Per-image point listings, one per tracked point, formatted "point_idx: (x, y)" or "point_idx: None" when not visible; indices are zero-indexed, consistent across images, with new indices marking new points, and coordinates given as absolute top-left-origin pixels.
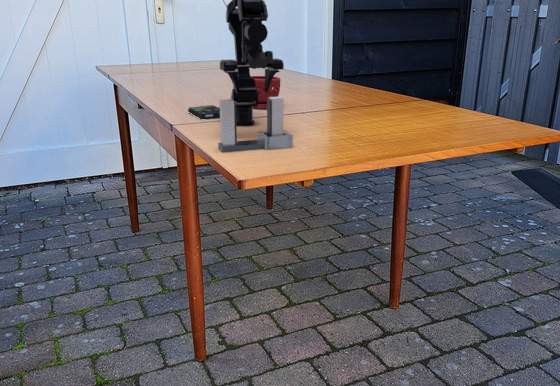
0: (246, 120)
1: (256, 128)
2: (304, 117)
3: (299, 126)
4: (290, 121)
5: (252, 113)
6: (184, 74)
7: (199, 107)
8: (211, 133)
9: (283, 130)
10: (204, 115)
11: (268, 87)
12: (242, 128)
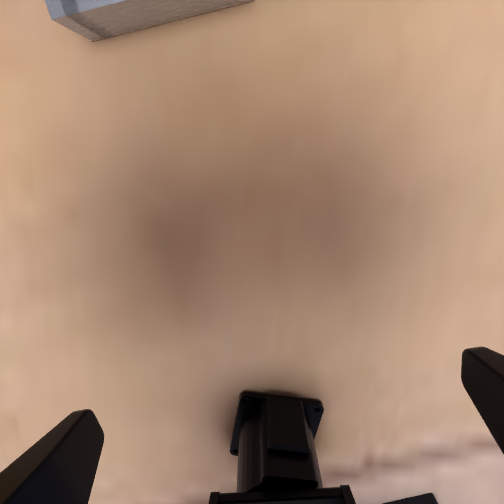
0: (271, 408)
1: (230, 347)
2: None
3: (31, 363)
4: None
5: (238, 463)
6: None
7: None
8: (454, 276)
9: (55, 4)
10: None
11: (12, 471)
12: (293, 352)
